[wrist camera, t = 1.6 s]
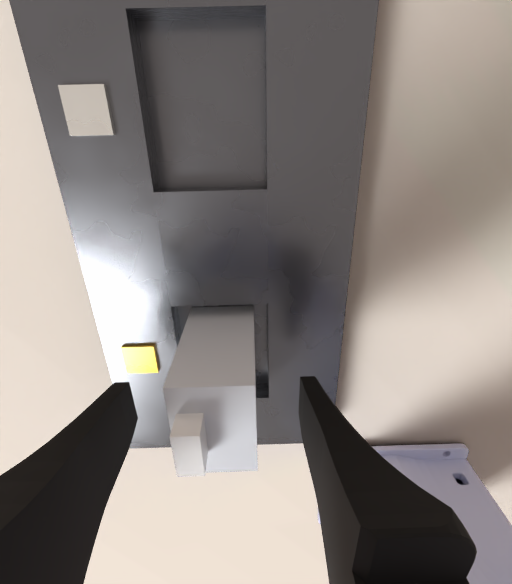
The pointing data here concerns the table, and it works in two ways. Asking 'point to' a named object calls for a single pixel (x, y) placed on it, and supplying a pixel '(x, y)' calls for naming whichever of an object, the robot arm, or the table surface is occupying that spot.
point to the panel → (208, 177)
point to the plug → (214, 393)
